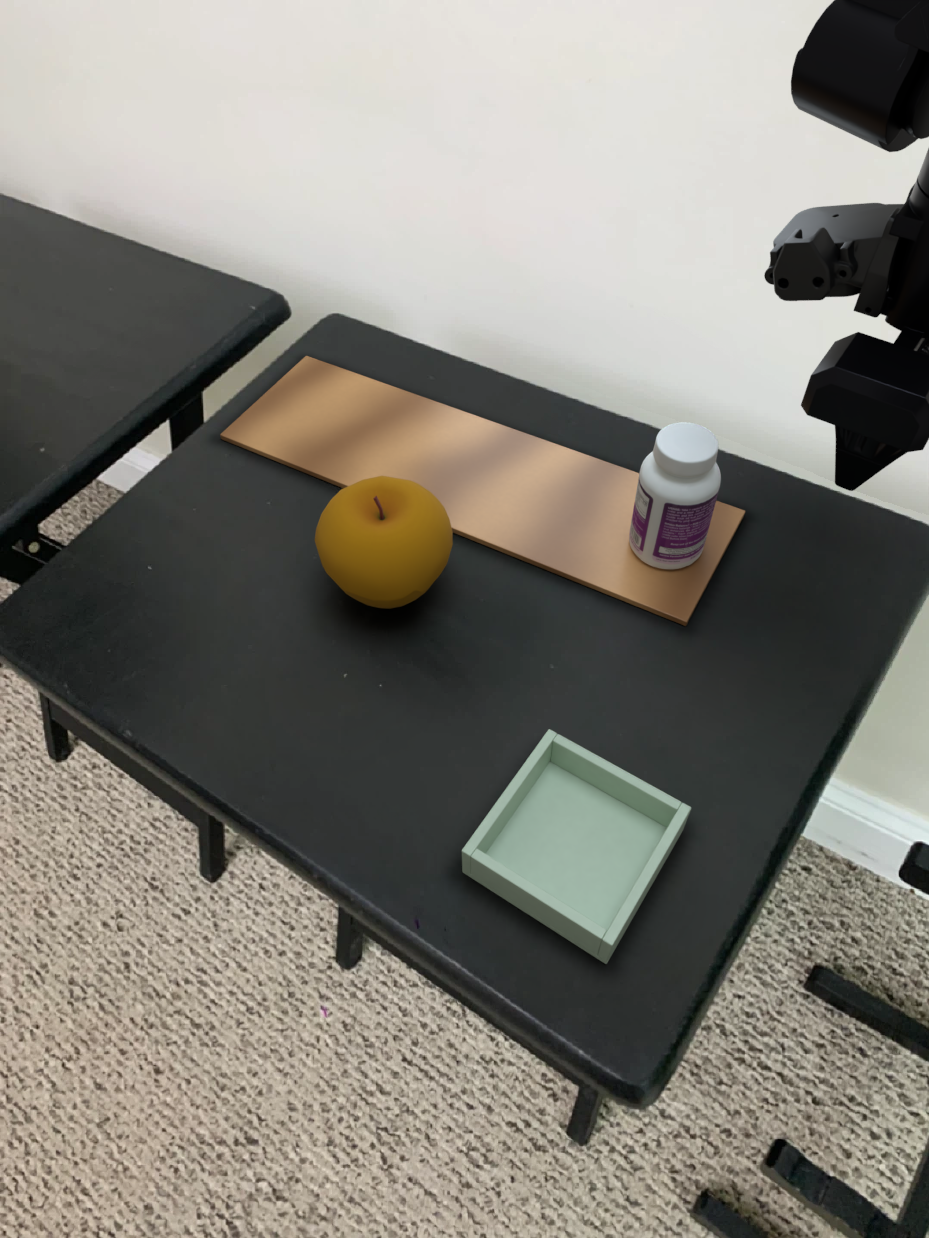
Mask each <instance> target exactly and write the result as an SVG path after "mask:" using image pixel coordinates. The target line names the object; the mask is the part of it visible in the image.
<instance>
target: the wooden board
mask: <svg viewBox="0 0 929 1238" xmlns="http://www.w3.org/2000/svg"><path fill="white" fill-rule="evenodd" d="M219 438H220V439H221V440H222V441H225V442H227V443H229V444H232V445H235V446H237V447H240V448H242V449H245V450H247V451H249V452H252V453H255V454H257V455H259V456H262V457H265V458H267V459H269V460H272V461H275V462H277V463H278V464H282V465H284V466H287V467H289V468H292V469H293V470H297V471H299V472H302V473H304V474H306V475H309V476H311V477H314V478H317V479H319V480H322V481H324V482H327V483H329V484H331V485H333V486H337V487H338V488H341V489H343V488H346V487H348V486H350V485H352V484H354V483H357V482H359V481H361V480H364V479H368V478H373V477H378V476H387V477H393V478H399V479H405V480H411V481H413V482H415V483H418V484H419V485H421V486H422V487H424V488H425V489H427V490H428V491H430V492H431V493H432V494H433V495H434V496H435V497H436V498H437V499H438V500H439V501H440V502H441V504H442V505H443V506H444V508H445V510H446V512H447V515H448V517H449V520H450V523H451V527H452V532H453V534H455V535H457V536H460V537H464V538H466V539H469V540H471V541H473V542H476V543H478V544H480V545H483V546H485V547H488V548H491V549H493V550H496V551H498V552H499V553H503V554H505V555H507V556H510V557H513V558H515V559H518V560H520V561H523V562H525V563H528V564H531V565H532V566H535V567H538V568H540V569H542V570H545V571H548V572H550V573H551V574H555V575H557V576H560V577H562V578H565V579H568V580H570V581H572V582H575V583H577V584H580V585H582V586H585V587H587V588H590V589H591V590H595V591H597V592H599V593H602V594H604V595H607V596H610V597H612V598H614V599H617V600H620V601H622V602H625V603H627V604H629V605H632V606H635V607H637V608H638V609H642V610H644V611H647V612H649V613H652V614H654V615H657V616H659V617H662V618H664V619H666V620H669V621H671V622H674V623H677V624H679V625H682V626H684V627H686V626H687V625H688V623H689V622H690V619H691V617H692V615H693V614H694V612H695V610H696V608H697V606H698V604H699V602H700V600H701V599H702V596H703V595H704V592H705V591H706V589H707V587H708V585H709V583H710V581H711V580H712V578H713V576H714V574H715V572H716V570H717V568H718V566H719V564H720V563H721V561H722V558H723V556H724V555H725V553H726V551H727V549H728V547H729V545H730V544H731V542H732V540H733V537H734V536H735V534H736V532H737V530H738V528H739V526H740V524H741V523H742V521H743V519H744V517H745V515H746V510H745V509H742V508H738V507H736V506H733V505H730V504H727V503H725V502H721V501H719V500H716V503H715V507H714V511H713V514H712V518H711V522H710V526H709V530H708V534H707V537H706V541H705V544H704V548H703V551H702V553H701V555H700V556H699V558H698V559H697V560H696V561H694V562H693V563H692V564H690V565H689V566H686V567H683V568H679V569H661V568H656V567H653V566H650V565H648V564H646V563H645V562H643V561H642V560H641V559H640V558H639V557H638V556H637V555H636V554H635V553H634V551H633V550H632V548H631V546H630V542H629V533H630V527H631V520H632V515H633V509H634V503H635V497H636V491H637V485H638V479H639V472H637V471H634V470H631V469H628V468H626V467H623V466H619V465H618V464H614V463H611V462H609V461H605V460H603V459H601V458H597V457H594V456H592V455H590V454H586V453H583V452H580V451H577V450H574V449H572V448H569V447H566V446H563V445H561V444H558V443H554V442H552V441H550V440H547V439H543V438H540V437H537V436H536V435H532V434H529V433H527V432H524V431H521V430H518V429H514V428H512V427H509V426H507V425H504V424H501V423H498V422H495V421H492V420H490V419H487V418H485V417H482V416H478V415H476V414H473V413H470V412H467V411H464V410H461V409H459V408H456V407H453V406H450V405H447V404H445V403H442V402H439V401H436V400H433V399H430V398H428V397H425V396H422V395H419V394H416V393H413V392H410V391H408V390H404V389H403V388H399V387H396V386H393V385H390V384H388V383H385V382H382V381H380V380H376V379H374V378H371V377H368V376H365V375H362V374H360V373H358V372H357V373H356V372H354V371H351V370H348V369H345V368H342V367H339V366H337V365H334V364H332V363H328V362H326V361H323V360H320V359H317V358H315V357H312V356H308V355H305V356H304V357H303V358H301V359H300V360H299V362H298V363H296V364H295V365H294V366H293V367H292V368H291V369H290V370H289V371H288V372H286V373H285V374H284V375H283V376H282V377H281V378H280V379H279V380H277V381H276V383H274V385H272V386H271V387H270V388H269V389H268V390H267V391H266V392H265V393H263V394H262V396H260V397H259V398H258V399H257V400H256V401H255V402H254V403H253V404H252V405H251V406H249V408H247V409H246V410H245V411H244V412H243V413H242V414H240V416H239V417H237V418H236V419H235V420H234V421H233V422H232V423H231V424H230V425H229V426H228V427H226V428H225V429H224V430H222V432H221V433H220V434H219Z"/></svg>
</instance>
